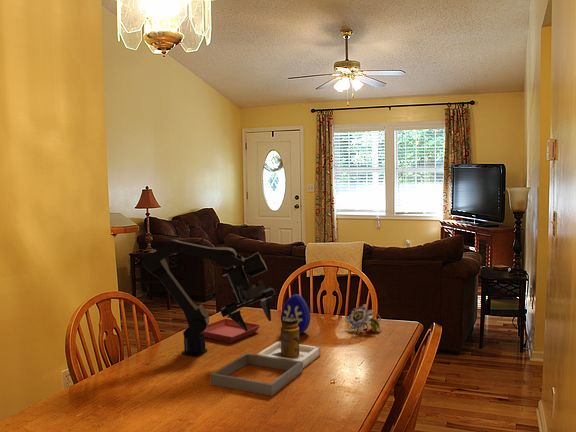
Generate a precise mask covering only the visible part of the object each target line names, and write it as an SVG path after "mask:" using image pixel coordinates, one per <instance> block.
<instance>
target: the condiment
mask: <svg viewBox="0 0 576 432" xmlns="http://www.w3.org/2000/svg"><path fill="white" fill-rule="evenodd" d="M280 342H281V352H279V353H274V354H271V355H273V356H279V357H286V358H292V359H294V358H298V357H302V356H305V355H302V354H300V353H299V344H300V333H299V327H298V320H297V319H296V318H284V319H283V320H282V323H281V327H280Z"/></svg>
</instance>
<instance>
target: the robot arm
mask: <svg viewBox="0 0 576 432" xmlns="http://www.w3.org/2000/svg"><path fill="white" fill-rule="evenodd" d="M173 253H177V254H181V255H187V256H192V257H197V258H200V259H205V260H209V261H211V262H213V263H216V264H217V265H220V266H222V267H223V268H222V270H221V273H220V276H223V277H226V276H227V277H228V278H227V279H228V280H229V283H230V285H231V287H232V293H233V294H235V296H236V298H237V301H236V302H237V303H236V302H235V301H234V302H232V303H229V304H227V305H225V306H224V307H222V308H221V309H220V313H221V317H222V318H225V317H227V318H226V319H231V320H234V321H235V322H236V323H237V324H238V325H239V326H240V327H241V328H242V329H244V330H245V331H248V330H247V327H246V325H245V323H244V322H245V321H244V319H243V317H242V315H241V310H240V309H242V308H244V307H246V306H249V305H251V304H254V303H256V302H258V301H261V302H260V303H259V304H260V306H261V309H262V310H263V313H264V315H265V317H266V319H267V320H268V322H271V321H272V316H271V315H272V313H271V303H272V299H274V296H275V295H277V294H276V291H275V289H273V288H272V287H268V288H266V286H265V284H264V282H263V280H259V281H256V282H255V283H254V284H253V283H252V281H250V280H249V279H248V277H247V276H249V277H252V278H253V277H255V276H258V275H260V274H262V273H265V272H267V271H268V267H267V265H266V262H265V260H264V259H263V257H262V256H261V254H260V253H259V251H258V252H255V253H254V254H252V255H251V256H249V257H243V256H242V255H240V254H239V253H237V251H236V250H235V249H234V248H232V247H220V246H219V247H212V246H211V247H210V246H205V245H201V244H196V243H191V242H188V241H187V242H186V241H181V240H178V239H171V240H170V241H169V242H167V244H165V245H164V246H162V247H160V248H158V249H153V250H150V251H149V252H147V253H145V254H144V255H143V256H142V259H141V263H142V265H143V267H144V268H145V269H146V270H147V271H148V272H149V273H150V274H152V275H153V276H155V277H156V278H158V280H159V281H160V282H161V283H162V284H163V287H165V289H166V290H167V291H168V293H169V294H170V296H171V297H172V298H173V300H175V303H176V304H177V305H178V306H179V308H180V309H181V310H182V312H183V314H184V318H185V320H186V322H187V326H186V327H185V329H184V330H183V333H182V334H183V348H184V349H183V351H181V355H187V356H193V357H198V356H200V355H202V354H204V353H206V352H208V348H206V338H205V337H204V334H202V333H201V332H203V331H204V330H205V329H206V327H207V325H208V324H210V316H209V311H207V310H206V309H205V306H204V305H203V304H200V305H197V304H196V303H194V301H193V300H192V299H191V297H190V296H189V295H188V293H186V292H187V291H185V290H184V288H183V286H181V284H180V283H179V282H178V280H177V279H176V278H175V276H174V275H173V273H172V271H171V270H170V268H169V265H168V262H167V260H166V258H167V257H169V256H171V255H172V254H173ZM225 267H226V268H225Z"/></svg>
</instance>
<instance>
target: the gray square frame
mask: <svg viewBox="0 0 576 432" xmlns="http://www.w3.org/2000/svg"><path fill="white" fill-rule="evenodd" d="M246 365H253V366H259V367H264V368H271V369H278V370H283V371H284V370H285V372H283V373H282V374H281V375H280V376H278V377H277V378H275V379H274V380H272V381H271V382H265V381H259V380H253V379H248V378H242V377H238V376H232V375H231V374H233V373H235V372H237V371H238V370H239V369H241V368H242V367H245V366H246ZM303 370H304V368H303V362H300V361H294V360H287V359H281V358H275V357H268V356H262V355H256V354H254V353H248V352H246V353H244V354H242V355H240V356H239V357H237V358H236V359H233V360H232V361H230V362H228V363H227V364H225V365H223V366H222V367H220V368H218V369H216V370H215V371H213V372H211V373H210V374H209V376H210V377H209V379H210V382H209V383H210V385H212V386H213V385H214V386H218V387H224V388H228V389H233V390H237V391H238V390H240V391H243V392H249V393H255V394H260V395H265V396H271V397H273V396H274V395H276V394H277V393H278V392H279V391H280V390H282V389H283V388H284V387H286V386H287V385H288V384H289V383H290V382H291V381H293V380H294V379H295V378H296V377H298V376H299V375H300V374H301V373H302V372H303Z"/></svg>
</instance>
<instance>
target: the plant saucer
mask: <svg viewBox="0 0 576 432" xmlns="http://www.w3.org/2000/svg"><path fill="white" fill-rule="evenodd" d="M244 323H245V325H246V327H247V330H248V331H245V330H244V329H242V328H241V327H240V326H239V325H238V324H237V323H236V322H235V321H234V320H232V319H231V318H223V319H219V320H216V321H215V322H212V323H211V322H210V323H208V325H207V327H206V329H205V330H204V331H203V332H201V333H202V334H204V338H207V337H208V339H212V340H218V341H223V342H226V343H233V342H236V341H238V340H240V339H243V338H245V337H247V336H250V335H253V334H255V333H256V332H257V331H258V330H259V328H261V324H257V323H253V322H252V323H251V322H245V321H244Z"/></svg>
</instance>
